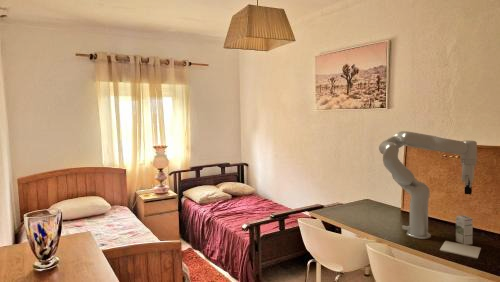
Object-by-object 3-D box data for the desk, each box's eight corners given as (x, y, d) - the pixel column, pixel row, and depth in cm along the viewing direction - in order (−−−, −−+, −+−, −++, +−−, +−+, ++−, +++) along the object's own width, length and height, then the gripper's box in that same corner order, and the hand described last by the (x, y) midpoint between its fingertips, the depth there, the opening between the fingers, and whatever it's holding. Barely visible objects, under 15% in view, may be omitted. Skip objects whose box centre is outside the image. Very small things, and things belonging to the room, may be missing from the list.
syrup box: (472, 244, 172) (473, 217, 171) (463, 245, 171) (464, 218, 170) (464, 240, 177) (464, 214, 176) (454, 241, 176) (455, 215, 175)
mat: (439, 250, 164) (439, 249, 164) (445, 241, 176) (445, 240, 176) (477, 258, 154) (477, 257, 154) (480, 248, 165) (480, 247, 165)
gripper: (462, 160, 189) (462, 190, 190) (458, 163, 178) (458, 195, 179) (478, 161, 184) (477, 192, 185) (474, 164, 173) (474, 197, 174)
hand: (468, 193), depth 182 cm, fingers closed
